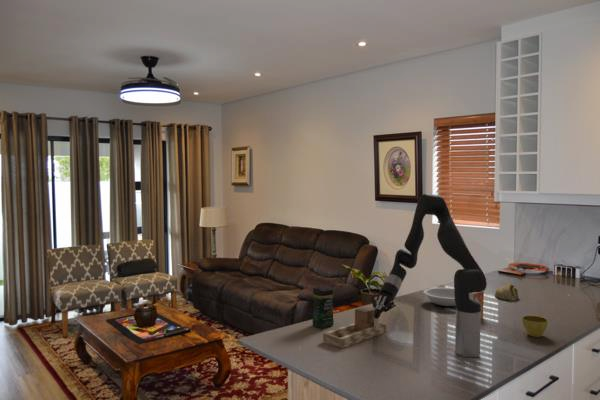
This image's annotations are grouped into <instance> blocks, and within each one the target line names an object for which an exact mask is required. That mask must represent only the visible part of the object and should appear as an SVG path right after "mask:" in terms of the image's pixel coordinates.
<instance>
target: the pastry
mask: <svg viewBox="0 0 600 400" xmlns="http://www.w3.org/2000/svg"><path fill="white" fill-rule="evenodd" d="M494 297H495V298H496V299H499V300H503V301H508V302H516V301H517V300H518V299H519V298H520V295H519V291H518V289H517V288H516V287H515V286H514V285H513V284H509V285H508V284H507V285H502V286H500V287H497V289H496V291H495V293H494Z"/></svg>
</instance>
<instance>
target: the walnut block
mask: <svg viewBox="0 0 600 400" xmlns="http://www.w3.org/2000/svg"><path fill="white" fill-rule="evenodd" d="M374 311H375V308H370V307H366V306H362V307H358V308H355V309H354V323H355V331H357V332H358V331H361V330H364V329H367V328H369V327H372V326H375V318H374Z"/></svg>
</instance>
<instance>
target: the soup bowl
mask: <svg viewBox="0 0 600 400" xmlns="http://www.w3.org/2000/svg"><path fill="white" fill-rule="evenodd" d="M423 294H424V295H426V296H427V298H428V299H429V301H431V302H432V304H433V303H434V305H439V306H442V307H456V304H455V297H454V287H453V288H451V287H429V288H426V289H424V290H423Z"/></svg>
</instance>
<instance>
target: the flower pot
mask: <svg viewBox="0 0 600 400" xmlns="http://www.w3.org/2000/svg"><path fill="white" fill-rule="evenodd" d="M521 319H522V324H523V326H524V327H523V328H524V329H525V332H526V333H527V335H528V336H530V337H534V338H540V337H542V336H543V335H544V333H545V332H546V329H547V326H548V322H549V320H548V319H547V318H545V317H543V316H542V317H541V316H536V315H524V316H522V317H521Z"/></svg>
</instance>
